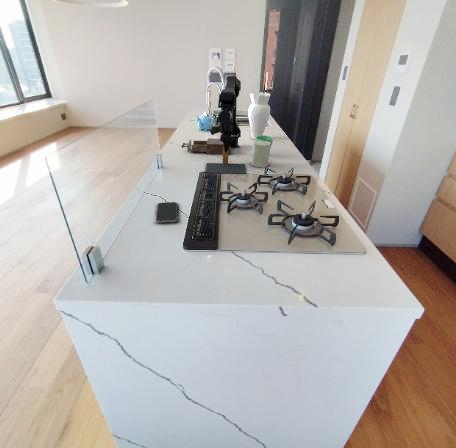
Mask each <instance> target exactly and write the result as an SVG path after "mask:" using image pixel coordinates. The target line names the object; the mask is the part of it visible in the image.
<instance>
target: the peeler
mask: <svg viewBox="0 0 456 448" xmlns="http://www.w3.org/2000/svg"><path fill="white" fill-rule="evenodd" d="M229 156H230V155H229V148H228V151H227V152H225V149H224V144H223V155H222V163H223V164H229V158H230V157H229Z"/></svg>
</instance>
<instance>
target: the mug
mask: <svg viewBox="0 0 456 448" xmlns="http://www.w3.org/2000/svg"><path fill="white" fill-rule="evenodd" d="M255 141H267V142H270V143H271V145H270V149H271V148H272V145H273V141H274V138H273V137H272V136H268V135H265V134H263V136H258V137H256V140H255Z"/></svg>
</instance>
